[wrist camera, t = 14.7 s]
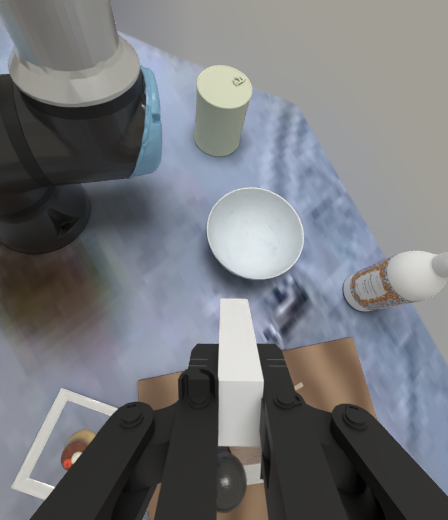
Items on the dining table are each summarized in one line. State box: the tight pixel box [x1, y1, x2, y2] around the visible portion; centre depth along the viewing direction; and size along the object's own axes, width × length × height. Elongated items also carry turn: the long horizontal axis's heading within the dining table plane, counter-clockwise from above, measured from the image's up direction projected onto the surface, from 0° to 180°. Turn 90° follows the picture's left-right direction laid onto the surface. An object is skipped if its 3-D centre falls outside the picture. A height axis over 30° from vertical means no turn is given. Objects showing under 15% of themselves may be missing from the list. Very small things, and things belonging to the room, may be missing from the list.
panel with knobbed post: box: [217, 439, 264, 513], centre depth 31 cm, size 20×4×14 cm, turn 94°
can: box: [194, 65, 252, 157], centre depth 49 cm, size 9×9×12 cm
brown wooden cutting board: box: [137, 337, 377, 520], centre depth 38 cm, size 34×28×2 cm
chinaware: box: [207, 188, 304, 280], centre depth 45 cm, size 15×15×8 cm
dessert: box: [11, 388, 118, 500], centre depth 35 cm, size 12×12×5 cm
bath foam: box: [343, 251, 448, 311], centre depth 39 cm, size 7×7×20 cm
